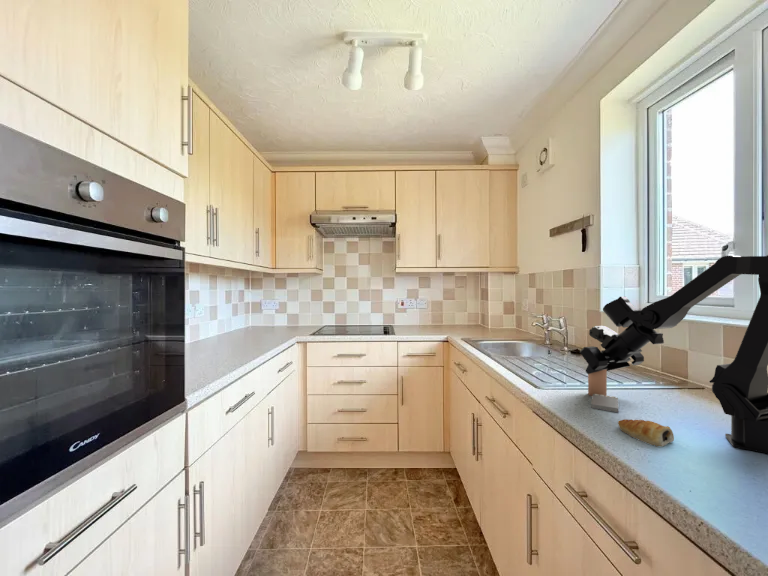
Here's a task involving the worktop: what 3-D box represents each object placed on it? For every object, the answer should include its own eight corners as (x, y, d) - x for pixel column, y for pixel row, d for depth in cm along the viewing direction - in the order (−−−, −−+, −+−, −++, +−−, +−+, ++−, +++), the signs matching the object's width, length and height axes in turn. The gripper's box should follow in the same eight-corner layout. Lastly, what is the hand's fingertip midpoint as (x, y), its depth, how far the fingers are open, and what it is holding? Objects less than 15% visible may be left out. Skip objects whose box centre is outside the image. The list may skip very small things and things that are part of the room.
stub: (606, 398, 97) (606, 356, 97) (587, 395, 99) (587, 355, 99) (606, 394, 101) (607, 354, 101) (588, 391, 103) (588, 352, 103)
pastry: (611, 431, 76) (611, 414, 76) (628, 426, 79) (629, 409, 79) (659, 449, 67) (660, 430, 67) (677, 443, 70) (678, 424, 70)
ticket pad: (618, 412, 86) (618, 407, 86) (590, 407, 90) (590, 403, 90) (617, 401, 95) (617, 397, 95) (592, 397, 98) (592, 393, 98)
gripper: (633, 316, 99) (597, 347, 110) (586, 318, 93) (553, 351, 103) (663, 347, 92) (622, 378, 102) (614, 352, 86) (575, 384, 96)
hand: (593, 371), depth 101 cm, fingers closed on stub, 5 cm apart
